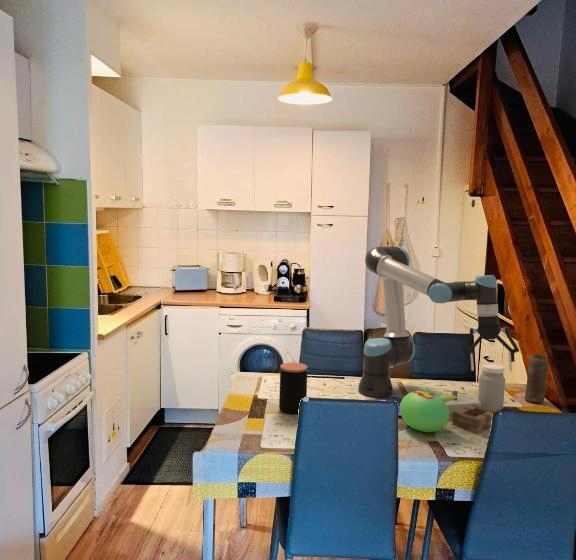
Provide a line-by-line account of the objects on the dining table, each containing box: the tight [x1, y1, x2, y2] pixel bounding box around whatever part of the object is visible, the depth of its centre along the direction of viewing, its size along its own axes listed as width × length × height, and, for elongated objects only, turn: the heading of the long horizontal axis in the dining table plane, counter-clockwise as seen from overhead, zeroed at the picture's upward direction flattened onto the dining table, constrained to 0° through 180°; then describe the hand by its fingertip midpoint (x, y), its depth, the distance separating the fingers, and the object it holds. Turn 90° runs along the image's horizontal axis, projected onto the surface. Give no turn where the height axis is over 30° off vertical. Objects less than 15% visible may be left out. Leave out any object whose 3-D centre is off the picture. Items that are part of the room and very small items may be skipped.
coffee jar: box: [278, 362, 308, 416], centre depth 196 cm, size 11×11×18 cm
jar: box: [477, 362, 506, 411], centre depth 204 cm, size 10×10×18 cm
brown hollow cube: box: [451, 404, 494, 435], centre depth 187 cm, size 14×10×5 cm
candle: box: [524, 353, 549, 404], centre depth 214 cm, size 8×7×20 cm
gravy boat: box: [399, 387, 457, 433], centre depth 181 cm, size 18×17×15 cm
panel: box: [446, 390, 481, 416], centre depth 203 cm, size 18×10×8 cm, turn 104°
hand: (491, 370), depth 192 cm, fingers open, 13 cm apart
